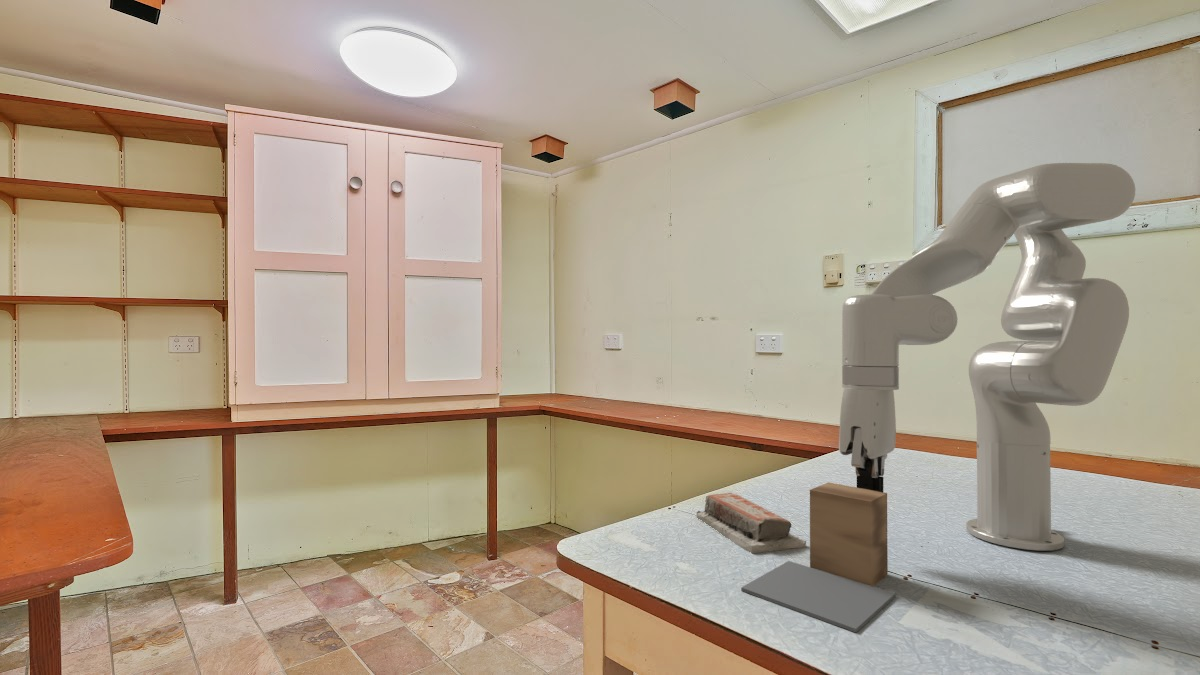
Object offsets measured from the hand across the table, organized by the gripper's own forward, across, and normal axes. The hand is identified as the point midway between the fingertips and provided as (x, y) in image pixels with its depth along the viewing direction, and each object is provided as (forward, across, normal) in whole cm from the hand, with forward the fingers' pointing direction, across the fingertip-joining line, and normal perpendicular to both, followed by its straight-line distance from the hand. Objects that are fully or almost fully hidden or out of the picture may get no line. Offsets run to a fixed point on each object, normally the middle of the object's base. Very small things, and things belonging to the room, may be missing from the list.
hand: (869, 502), depth 81 cm
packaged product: (+8, +4, -18) cm, 21 cm away
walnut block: (+8, +8, 0) cm, 11 cm away
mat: (+8, +18, 0) cm, 19 cm away
